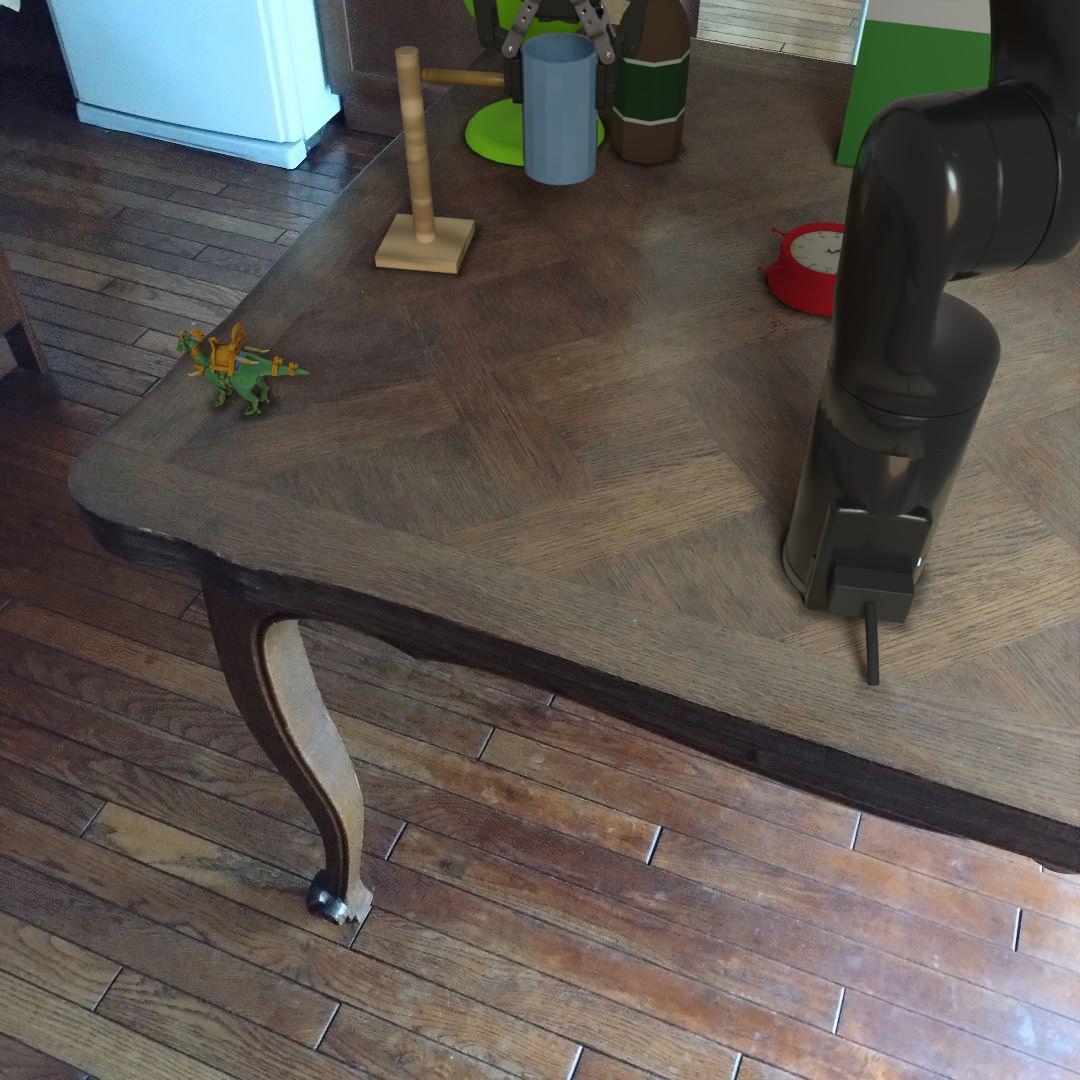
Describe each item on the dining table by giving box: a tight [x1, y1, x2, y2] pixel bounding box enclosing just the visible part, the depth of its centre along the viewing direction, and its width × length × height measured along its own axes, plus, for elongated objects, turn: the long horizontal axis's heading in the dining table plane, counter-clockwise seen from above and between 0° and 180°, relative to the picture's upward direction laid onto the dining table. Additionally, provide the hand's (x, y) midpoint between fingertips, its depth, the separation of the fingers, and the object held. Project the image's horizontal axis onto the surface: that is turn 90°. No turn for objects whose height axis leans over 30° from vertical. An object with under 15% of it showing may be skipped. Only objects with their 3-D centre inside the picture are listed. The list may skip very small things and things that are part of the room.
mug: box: [520, 32, 600, 186], centre depth 88 cm, size 10×6×10 cm, turn 169°
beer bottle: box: [611, 0, 692, 165], centre depth 109 cm, size 8×8×24 cm
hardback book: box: [835, 0, 991, 167], centre depth 107 cm, size 18×7×24 cm, turn 70°
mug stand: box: [374, 45, 504, 274], centre depth 97 cm, size 8×17×19 cm, turn 80°
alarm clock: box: [757, 221, 845, 317], centre depth 96 cm, size 10×6×15 cm
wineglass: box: [462, 0, 606, 167], centre depth 114 cm, size 16×16×18 cm
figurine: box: [175, 322, 310, 416], centre depth 85 cm, size 3×12×8 cm, turn 72°
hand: (560, 102), depth 87 cm, fingers closed on mug, 6 cm apart
